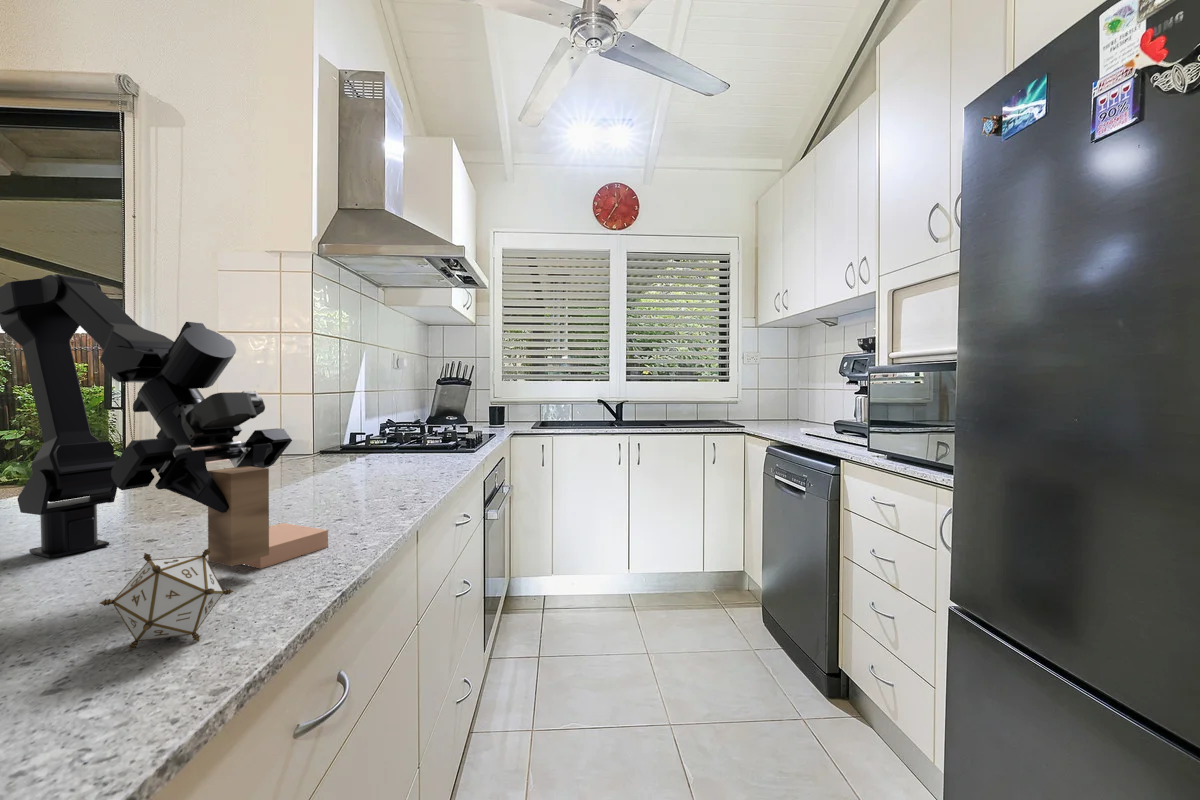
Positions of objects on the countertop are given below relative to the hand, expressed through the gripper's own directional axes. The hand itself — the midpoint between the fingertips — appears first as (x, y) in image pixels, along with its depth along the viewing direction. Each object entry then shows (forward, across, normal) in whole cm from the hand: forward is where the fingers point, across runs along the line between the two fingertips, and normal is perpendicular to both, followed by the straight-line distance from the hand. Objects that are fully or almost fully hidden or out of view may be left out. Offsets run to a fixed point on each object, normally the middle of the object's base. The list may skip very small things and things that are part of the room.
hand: (246, 505), depth 64 cm
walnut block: (+4, 0, +6) cm, 7 cm away
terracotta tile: (+2, +8, +11) cm, 14 cm away
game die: (+12, -13, +1) cm, 18 cm away
